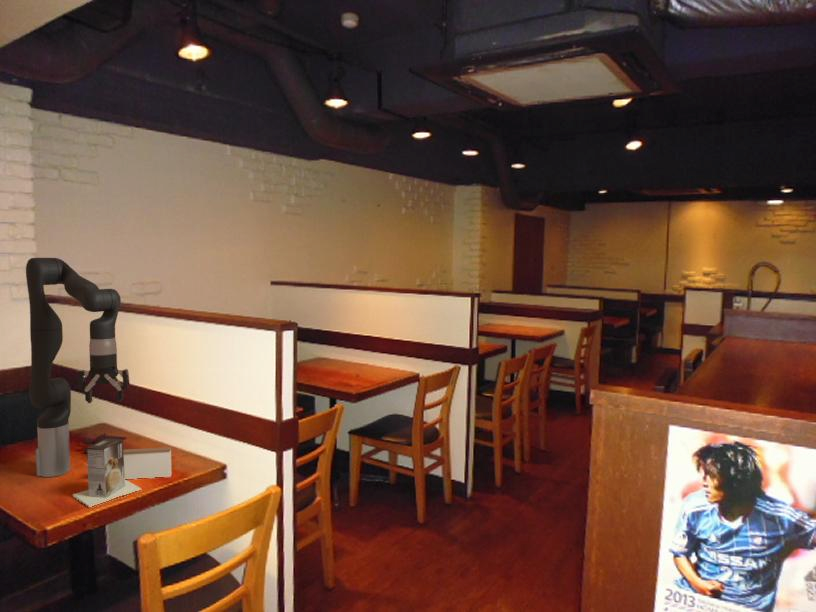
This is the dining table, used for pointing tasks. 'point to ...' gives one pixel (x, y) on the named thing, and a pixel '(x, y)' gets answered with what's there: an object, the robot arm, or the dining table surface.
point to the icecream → (99, 439)
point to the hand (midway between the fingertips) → (104, 402)
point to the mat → (93, 501)
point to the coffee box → (105, 467)
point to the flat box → (147, 463)
